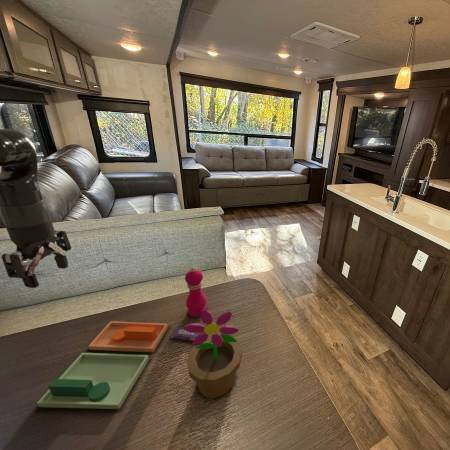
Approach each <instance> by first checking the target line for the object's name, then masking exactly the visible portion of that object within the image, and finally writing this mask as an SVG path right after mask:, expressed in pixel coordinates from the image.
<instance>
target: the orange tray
mask: <svg viewBox="0 0 450 450" xmlns="http://www.w3.org/2000/svg"><path fill="white" fill-rule="evenodd" d="M127 326H131V327H153V328H155V329H156V334H157V337H156V338H155V340H154V341H146V340H124V341H122V342H114V341H113V339H112V335H113V333H114V332H116V331H117V330H120V329H125V328H126V327H127ZM168 329H169V324H168V323H158V322H157V323H156V322H137V321H136V322H135V321H114V320H111V321H110V322H108V323H107V325H106V326H105V327H104V328H102V330H101V331H100V332H99V333H98V335H96V337H95V338H94V339H93V340H92V341H91V342H90V343H89V345H88V346H87V347H88V350H90V351H112V352H113V351H114V352H137V353H139V352H140V353H154V352H155V350H156V348H157V347H158V345H159V343H160V342H161V340H162V338H163V336H164V335H165V333H166V331H167V330H168Z"/></svg>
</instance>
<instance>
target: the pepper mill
mask: <svg viewBox="0 0 450 450" xmlns="http://www.w3.org/2000/svg"><path fill="white" fill-rule="evenodd" d="M203 279H204V274H203V272H202V271H201V270H200V269H197V268H196V266H195V267H194V266H192V267H191V268H190V270H188V271H187V272H186V273H185V276H184V280H185V283H186V284H187V286H186V287H187V289H188V290H189V291H188V292H189V293H188V296H187V298H186V301H185V306H186V308H187V312H188V313H187V314H188V315H189V316H190V317H192V318H198V317H201V310H204V309H206V310H207V306H206V305H207V297H206V295H205V294H204V293H203V290H202V286H203Z"/></svg>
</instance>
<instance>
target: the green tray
mask: <svg viewBox="0 0 450 450" xmlns="http://www.w3.org/2000/svg"><path fill="white" fill-rule="evenodd" d="M149 360H150V356H149V354H128V353H127V354H122V353H101V352H100V353H97V352H81V353H80V354H79V355H78V357H77V358H76V359H75V360H74V361H73V362H72V363H71V364H70V365H69V367H68V368H67V369H66V370H65V371H64V373H62V374H61V376H59V378H58V379H76V380H92V383H93V386H95V385H96V384H98V383H101V382H107V383H109V386H110V392H109V394H108V395H107V396H106V397H105V398H104V399H102V400H100V401H98V402H91V401H90V400H89V397H69V396H53V395H52V393H51V391H50V389H49V388H48V390H47V391H46V392H45V393H44V394H43V396H41V398H40V399H39V400H38V401H37V402H36V404H37V406H38V408H61V409H62V408H64V409H100V410H101V409H103V410H104V409H108V410H120V408H121V407H122V405H123V403H124V402H125V400H126V398H127V397H128V395H129V393H130V392H131V391H132V388H133V387H134V385H135V384H136V382H137V380H138V378H139V377H140V375H141V374H142V371H143V370H144V368H145V367H146V365H147V363H148V361H149Z"/></svg>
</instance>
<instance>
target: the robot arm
mask: <svg viewBox="0 0 450 450" xmlns="http://www.w3.org/2000/svg"><path fill="white" fill-rule="evenodd" d="M36 149H37V148H36V146H35V145H34V143H33V142H32V140H31V139H30V138H29V137H28V136H27V135H26V134H24V133H23V132H21V131H20V130H17V129H12V128H0V217H1V220H2V222H3V224H4V227H5V230H6V232H7V234H8V237H9V239H10V241H11V242H12V243H13V244H14V245H15V246H16V249H15V250H14V251H13V252H10V253H3V254H2V255H1V259H2V263H3V265H4V268H5V271H6V274H7V277H8V278H10V279H11V278H12V279H21V280H22V282H23V285H24V287H25V288H29V289H36V288H38V287H40V283H39V281H38V278H37V276H36V273H35V270H36V267H38V266H39V264H40V261H41V260H43V259H45V258H46V257H48V256H50V255H54V256H53V258H54V260H55V264H56V267H57V268H58V269H67V268H68V267H69V261H68V258H67V252H68V251H71V250H72V245H71V243H70V240H69V237H68V234H67V232H66V231H65V230H55V226H54V223H53V220H52V217H51V215H50V212H49V209H48V206H47V204H46V203H45V200H44V197H43V195H42V191H41V189H40V186H39V184H38V174H39V173H38V167H39V165H38V164H39V163H38V153H37V150H36ZM28 260H29V261H28Z"/></svg>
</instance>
